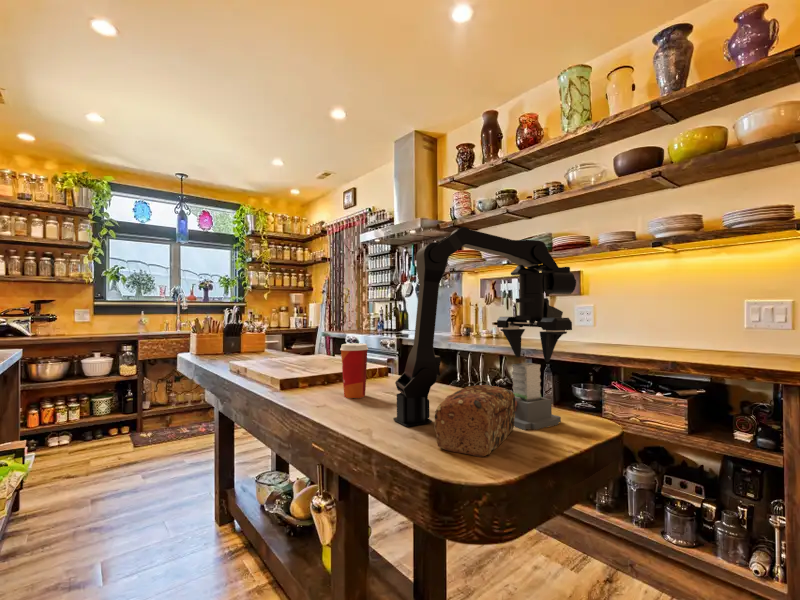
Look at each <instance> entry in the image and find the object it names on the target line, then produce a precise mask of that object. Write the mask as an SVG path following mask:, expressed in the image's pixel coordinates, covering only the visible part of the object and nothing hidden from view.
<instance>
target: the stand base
mask: <svg viewBox="0 0 800 600" xmlns="http://www.w3.org/2000/svg"><path fill="white" fill-rule="evenodd" d="M552 411H553V410H552V399H551V398H547V397H543V396H541V397H540V400H538V401H532V402H524V401H521V398H519V397H515V418H514V426H515V427H514V428H517V427H518V428H517V429H520V428H521V429H520V430H523V429H524V431H527V430H526V429H528V430H533V429H534V431H536V430H540V428H541V429H545V428H544V427H546V428H550V427H554V425H555V426H559V425H558V424H560V423H562V417H561V416H559V415H556V414H552V413H553V412H552ZM559 422H560V423H559ZM549 426H550V427H549ZM535 429H536V430H535Z"/></svg>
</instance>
